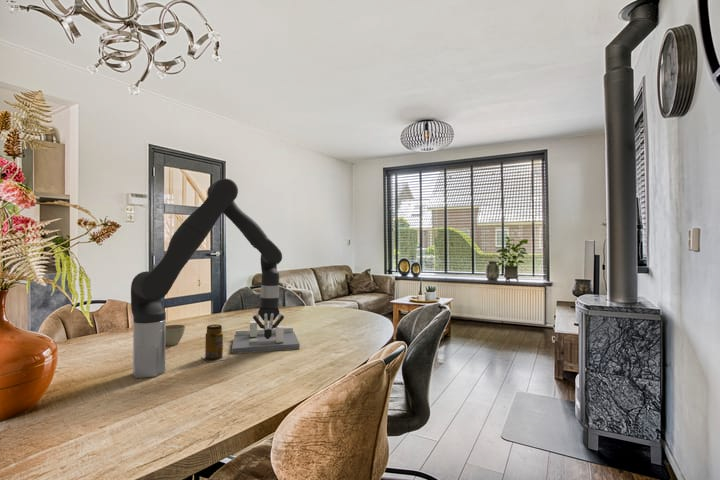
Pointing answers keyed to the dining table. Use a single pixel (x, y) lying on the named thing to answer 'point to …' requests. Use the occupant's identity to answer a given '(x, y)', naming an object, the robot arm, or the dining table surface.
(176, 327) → the flower pot
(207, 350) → the condiment
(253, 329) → the breaker
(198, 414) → the dining table surface
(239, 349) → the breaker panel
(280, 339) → the block
